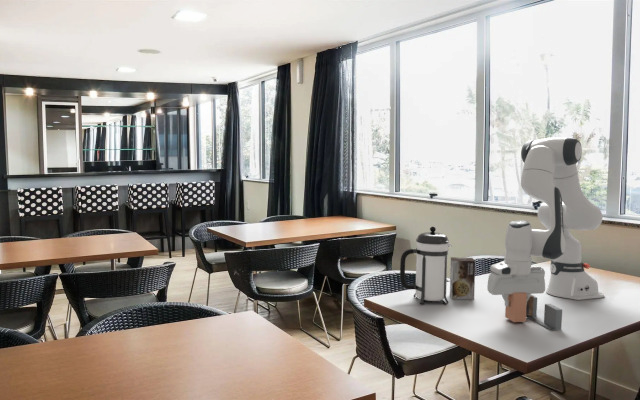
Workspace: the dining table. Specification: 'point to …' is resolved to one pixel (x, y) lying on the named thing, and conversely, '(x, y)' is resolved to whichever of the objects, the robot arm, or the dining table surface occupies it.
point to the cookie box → (462, 278)
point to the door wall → (548, 316)
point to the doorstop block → (517, 307)
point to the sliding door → (530, 306)
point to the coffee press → (429, 266)
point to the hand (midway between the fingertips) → (515, 306)
